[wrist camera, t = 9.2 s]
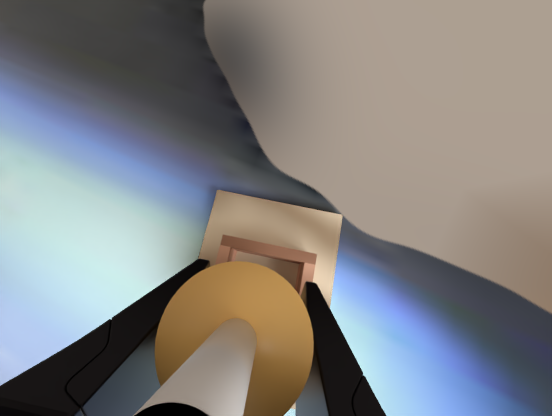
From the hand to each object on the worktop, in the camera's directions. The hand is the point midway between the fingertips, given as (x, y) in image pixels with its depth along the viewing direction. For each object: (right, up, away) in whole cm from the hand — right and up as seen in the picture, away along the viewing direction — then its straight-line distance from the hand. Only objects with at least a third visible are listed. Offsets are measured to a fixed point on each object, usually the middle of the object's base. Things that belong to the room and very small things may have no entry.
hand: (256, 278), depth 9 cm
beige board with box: (-1, -5, +12) cm, 13 cm away
